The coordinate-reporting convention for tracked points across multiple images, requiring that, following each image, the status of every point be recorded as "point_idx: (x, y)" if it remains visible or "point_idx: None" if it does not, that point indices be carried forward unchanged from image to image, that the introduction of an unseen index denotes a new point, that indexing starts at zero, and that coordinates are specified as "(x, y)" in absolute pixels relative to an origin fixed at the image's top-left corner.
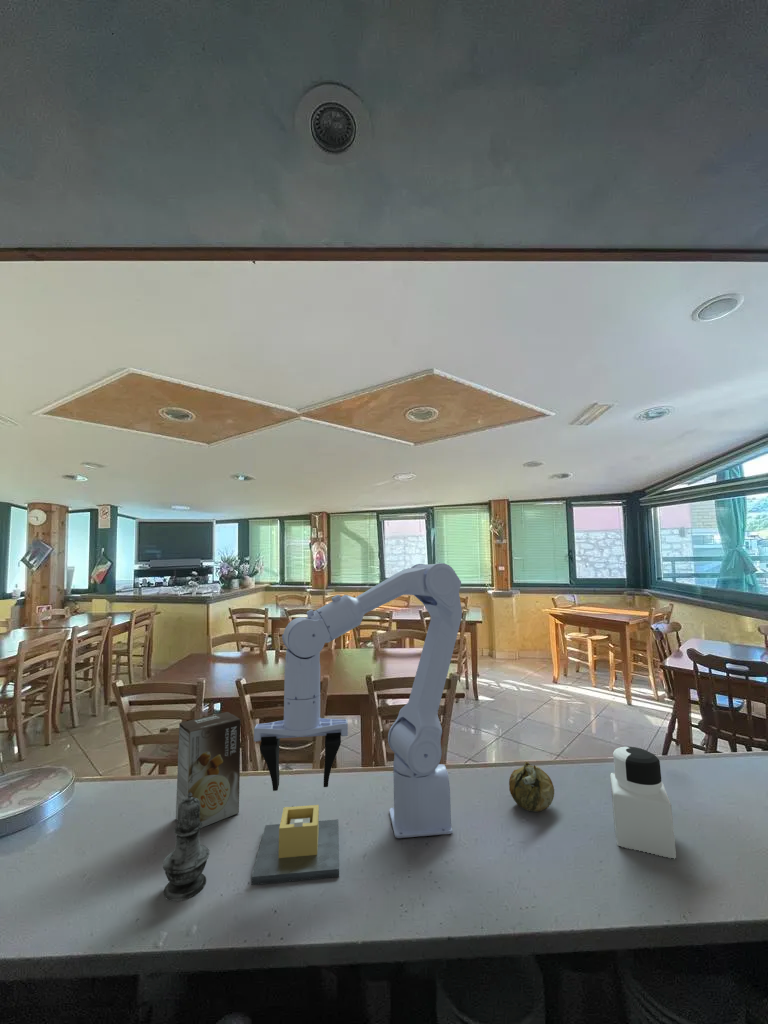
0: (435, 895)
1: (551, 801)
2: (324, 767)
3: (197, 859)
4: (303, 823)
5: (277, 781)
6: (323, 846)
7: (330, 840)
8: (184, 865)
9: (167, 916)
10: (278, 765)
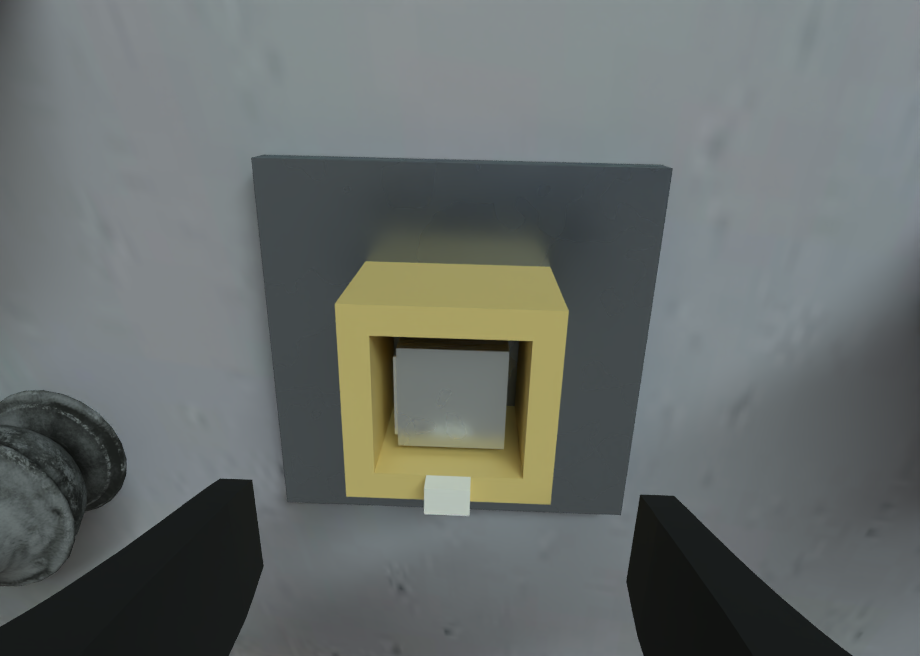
0: (916, 613)
1: None
2: (681, 583)
3: (35, 556)
4: (474, 477)
5: (235, 616)
6: (568, 381)
7: (605, 346)
8: (1, 576)
9: (73, 557)
10: (166, 598)
